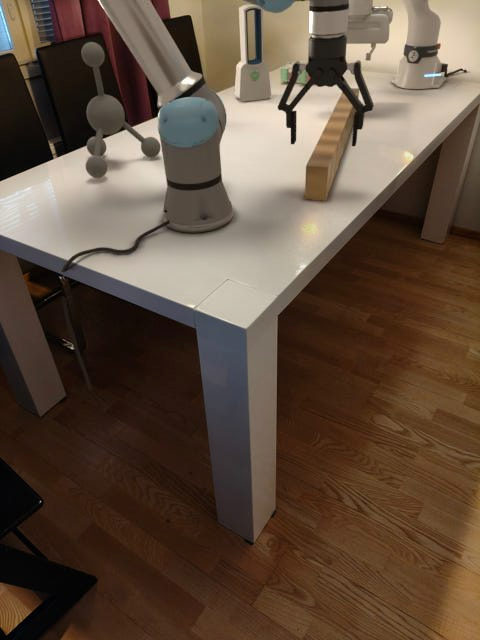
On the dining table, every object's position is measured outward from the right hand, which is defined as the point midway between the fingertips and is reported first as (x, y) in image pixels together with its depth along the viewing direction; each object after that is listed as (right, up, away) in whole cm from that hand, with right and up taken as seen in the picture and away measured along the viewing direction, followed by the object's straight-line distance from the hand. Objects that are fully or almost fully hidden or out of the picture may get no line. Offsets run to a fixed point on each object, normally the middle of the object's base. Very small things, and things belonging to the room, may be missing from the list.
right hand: (352, 60), depth 150 cm
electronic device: (-30, +5, +36) cm, 47 cm away
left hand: (-16, -40, -41) cm, 59 cm away
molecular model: (-67, -36, -13) cm, 77 cm away
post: (-7, -31, -12) cm, 34 cm away
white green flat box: (-6, +23, +58) cm, 62 cm away
